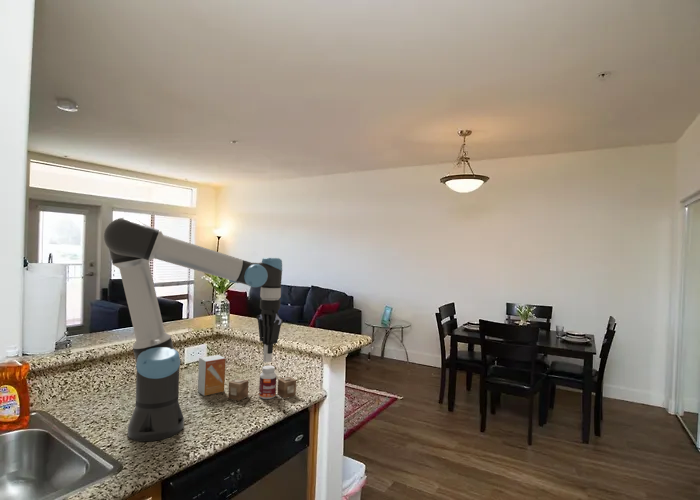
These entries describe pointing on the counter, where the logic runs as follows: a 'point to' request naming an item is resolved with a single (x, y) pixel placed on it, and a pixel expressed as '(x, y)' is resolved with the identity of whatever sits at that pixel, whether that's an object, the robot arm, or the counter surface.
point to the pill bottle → (267, 383)
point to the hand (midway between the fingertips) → (267, 361)
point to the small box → (211, 375)
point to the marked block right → (286, 387)
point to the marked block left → (238, 389)
